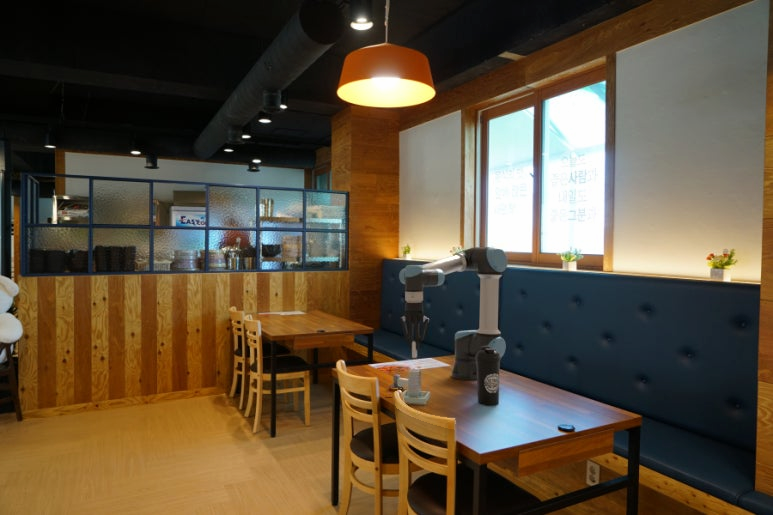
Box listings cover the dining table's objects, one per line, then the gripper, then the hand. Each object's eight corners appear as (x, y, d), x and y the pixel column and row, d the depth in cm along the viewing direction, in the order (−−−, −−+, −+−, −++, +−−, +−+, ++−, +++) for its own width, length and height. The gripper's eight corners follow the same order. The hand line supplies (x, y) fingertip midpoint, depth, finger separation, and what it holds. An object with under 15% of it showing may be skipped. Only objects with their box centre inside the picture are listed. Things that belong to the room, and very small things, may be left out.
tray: (405, 395, 225) (404, 390, 225) (429, 397, 222) (429, 391, 222) (399, 403, 214) (399, 397, 214) (425, 405, 211) (425, 398, 211)
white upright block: (410, 397, 221) (410, 369, 221) (421, 397, 220) (420, 369, 219) (408, 400, 216) (408, 371, 216) (419, 400, 215) (418, 372, 215)
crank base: (392, 386, 241) (391, 384, 241) (404, 386, 240) (404, 384, 240) (388, 389, 235) (388, 387, 235) (401, 390, 234) (401, 388, 234)
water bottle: (482, 407, 208) (482, 350, 207) (471, 400, 217) (471, 346, 217) (505, 405, 210) (505, 349, 210) (493, 398, 220) (493, 344, 220)
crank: (392, 385, 237) (392, 375, 237) (395, 384, 240) (395, 374, 240) (415, 389, 230) (415, 379, 230) (419, 388, 232) (419, 377, 232)
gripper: (396, 302, 216) (397, 358, 217) (427, 302, 213) (427, 359, 213) (401, 300, 224) (402, 354, 224) (431, 301, 220) (431, 356, 220)
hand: (414, 357), depth 218 cm, fingers closed
